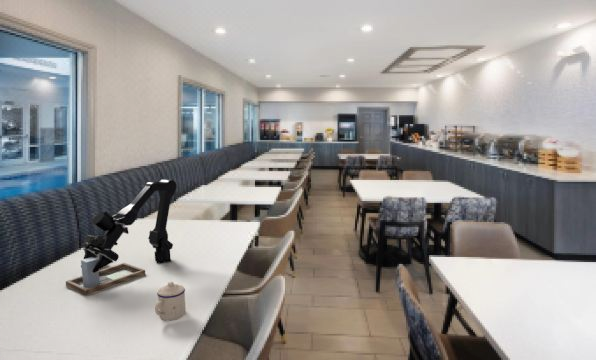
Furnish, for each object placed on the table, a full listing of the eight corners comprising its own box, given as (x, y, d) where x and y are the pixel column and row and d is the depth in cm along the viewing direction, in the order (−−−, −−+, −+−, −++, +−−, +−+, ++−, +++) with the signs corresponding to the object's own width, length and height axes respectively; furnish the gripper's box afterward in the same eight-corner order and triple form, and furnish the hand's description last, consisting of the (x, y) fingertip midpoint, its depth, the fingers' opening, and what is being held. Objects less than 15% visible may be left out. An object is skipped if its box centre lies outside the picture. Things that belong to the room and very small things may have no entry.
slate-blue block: (94, 282, 164) (92, 256, 163) (99, 284, 162) (97, 259, 160) (83, 285, 161) (80, 260, 159) (88, 288, 158) (86, 262, 156)
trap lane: (124, 266, 181) (124, 262, 181) (145, 274, 172) (145, 270, 172) (66, 285, 161) (65, 281, 160) (86, 295, 151) (85, 290, 151)
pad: (118, 272, 174) (117, 272, 174) (127, 276, 170) (127, 275, 170) (104, 277, 169) (104, 276, 169) (113, 281, 165) (113, 280, 165)
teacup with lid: (171, 306, 141) (169, 275, 140) (191, 311, 138) (190, 279, 136) (146, 322, 131) (144, 289, 129) (167, 327, 127) (165, 293, 125)
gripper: (85, 223, 166) (60, 256, 159) (109, 230, 156) (83, 265, 148) (105, 237, 174) (81, 268, 167) (129, 244, 163) (105, 278, 156)
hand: (87, 269), depth 159 cm, fingers open, 9 cm apart
